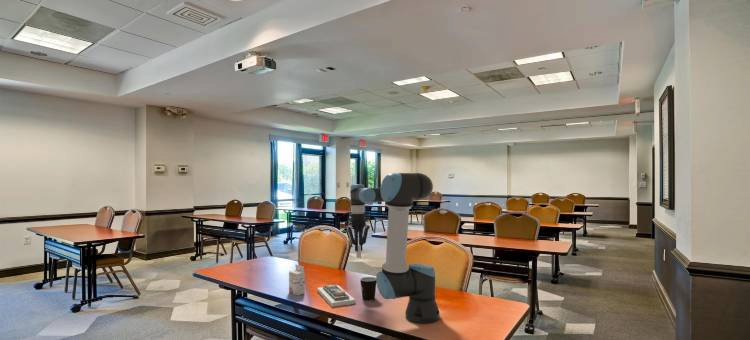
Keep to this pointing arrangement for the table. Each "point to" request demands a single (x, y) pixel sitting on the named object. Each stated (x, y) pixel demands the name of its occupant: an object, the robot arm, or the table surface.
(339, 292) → the clay button
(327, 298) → the button panel
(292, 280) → the ink cartridge box
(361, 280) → the coffee mug
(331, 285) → the sage button
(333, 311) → the table surface
